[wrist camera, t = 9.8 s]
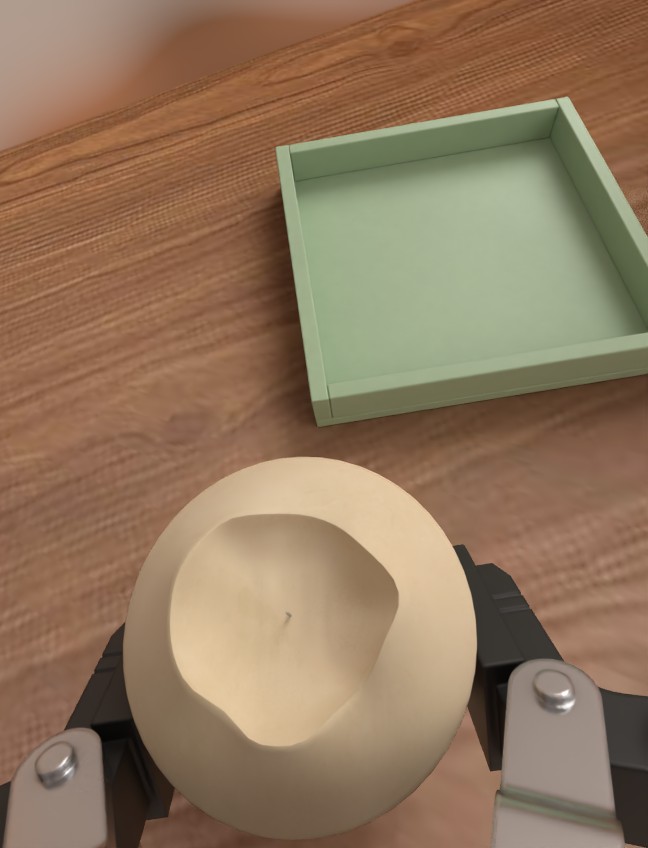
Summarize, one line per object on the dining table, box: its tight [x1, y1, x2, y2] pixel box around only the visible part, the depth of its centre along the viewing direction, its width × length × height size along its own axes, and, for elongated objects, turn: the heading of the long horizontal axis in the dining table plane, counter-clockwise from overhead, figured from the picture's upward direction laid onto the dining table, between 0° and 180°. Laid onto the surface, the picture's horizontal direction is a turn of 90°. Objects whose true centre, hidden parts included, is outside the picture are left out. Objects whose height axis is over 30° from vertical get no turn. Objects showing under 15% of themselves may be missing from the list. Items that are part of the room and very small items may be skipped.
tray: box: [275, 97, 648, 427], centre depth 21 cm, size 13×13×2 cm
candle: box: [123, 457, 477, 840], centre depth 11 cm, size 6×6×10 cm
